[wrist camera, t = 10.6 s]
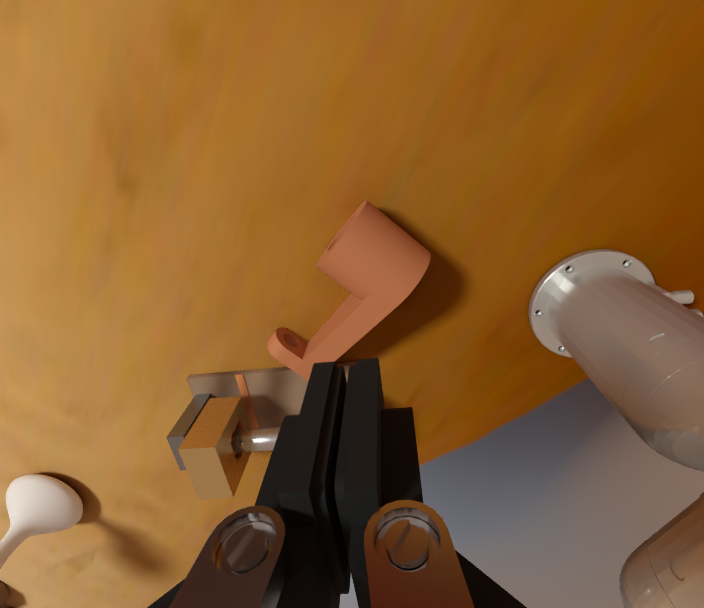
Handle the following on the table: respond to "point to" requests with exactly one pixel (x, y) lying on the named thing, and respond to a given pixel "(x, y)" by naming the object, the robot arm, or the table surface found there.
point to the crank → (357, 287)
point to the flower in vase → (38, 510)
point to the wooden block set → (3, 592)
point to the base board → (259, 391)
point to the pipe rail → (239, 440)
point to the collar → (215, 448)
